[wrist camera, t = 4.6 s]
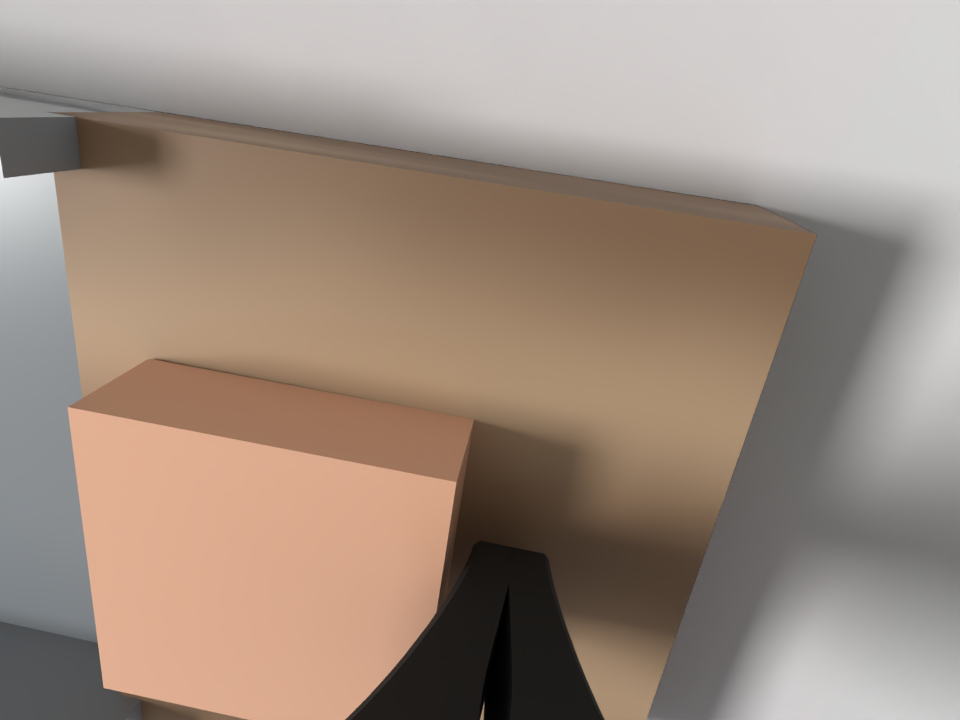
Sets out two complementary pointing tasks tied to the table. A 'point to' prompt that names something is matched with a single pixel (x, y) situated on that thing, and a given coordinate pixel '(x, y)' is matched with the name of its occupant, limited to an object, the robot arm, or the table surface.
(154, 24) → the table surface
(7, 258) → the tray
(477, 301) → the walnut plate
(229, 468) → the terracotta tile
